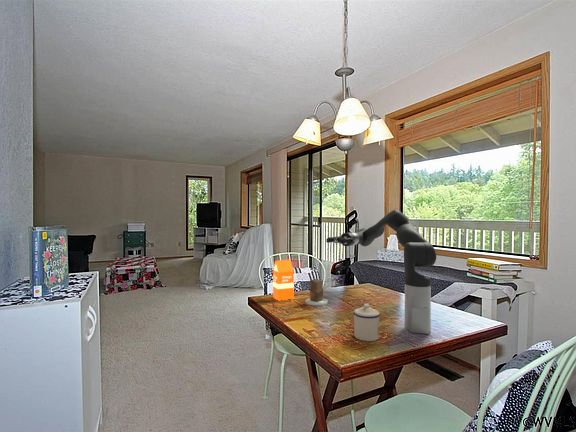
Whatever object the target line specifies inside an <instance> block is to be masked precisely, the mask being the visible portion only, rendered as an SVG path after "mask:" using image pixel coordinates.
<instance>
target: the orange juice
mask: <svg viewBox="0 0 576 432" xmlns="http://www.w3.org/2000/svg"><path fill="white" fill-rule="evenodd" d="M294 272H295V271H294V268H293V263H292V260H291V259H281V260H280V259H279V260H275V261H274V265H273V269H272V294H273V295H272V298H273V299H275V300H276V301H277V300H278V301H277V302H281V300H282V301H289V300H288V299H291V300H295V299H294V298H295V297H294V295H295V292H294V291H295V290H294V289H295V281H294V280H295V279H294V278H295V276H294V275H295V273H294Z"/></svg>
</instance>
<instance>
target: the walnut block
mask: <svg viewBox="0 0 576 432" xmlns="http://www.w3.org/2000/svg"><path fill="white" fill-rule="evenodd" d="M323 282H324V281H323V279H319V278H318V279H317V278H314V279H310V280H309V298H310V301H315V302H319V301H322V300H323V298H324V296H323V295H324V286H323V285H324V283H323Z"/></svg>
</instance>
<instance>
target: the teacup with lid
mask: <svg viewBox="0 0 576 432" xmlns="http://www.w3.org/2000/svg"><path fill="white" fill-rule="evenodd" d="M380 316H381V314H380V311H378V310H377V309H375V308H372V307H371V306H370V304H368V303H364V304H363V306H361V307H358V308H355V309H354V311H353V317H354V320H353V321H354V322H353V323H354V326H353V327H354V328H353V329H354V331H353V332H354V333H353V334H354V335H353V336H354V337H355V338H356V339H357V340H359V341H364V342H375V341H377V340H379V338H380Z"/></svg>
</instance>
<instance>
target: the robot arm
mask: <svg viewBox="0 0 576 432" xmlns="http://www.w3.org/2000/svg"><path fill="white" fill-rule="evenodd" d="M386 226H387V227H389V228H390V229H392V230H393V231H395V232H396V233H395V234H396V239H397V241H398V243H399V244H400V245H401V246H402V247H403V264H404V265H403V267H404V329H405V330H407V331H409V332H410V333H412V334H413V333H414V334H425V335H429V334H430V332H432V326H431V325H432V324H431V322H432V321H431V316H432V311H431V310H432V305H431V304H432V303H431V301H432V297H431V296H432V292H431V290H432V289H431V287H432V282H431V281H432V279H431V278H430V277H429V276H427V275H423V274H422V273H419V272H418V271H416V270H415V269H416V268H428V267H429V268H430V267H432V266H433V265H435V264H436V261H437V253H436V250H435V247H434V246H433V244H432V243H431V242H429V241H428V240H427V239H426V238H425V237H423V235H421V233H420V232H419V231H418V229H417V228H416V227H415V226H414V225H413V224H412V222H411V220H410V218H409V217H408V216H406V215H405V214H404V213H403V212H402V211H400V210H398V209H393V210H391V211H390V212H388V213H387V214H385V216H384V217H382V218H381V219H380V220H379V221H377V223H375V224H374V225H372V226H370V227H368V228H360V229H359V230H357V231H355V232H353V231H351V232H349V231H348V232H343V233H342V234H341V235H339V236H332V237H327V238H325V239H326V240H325V242H326V243H327V244H329V243H333V244H341V245H342V246H343V247H351V246H355V245H360V246H362V247H368V246H370V245H371V244H372V243H373V241H375V239H378V238H379V237H381V236H382V235H383V234H384V232H385V228H386Z"/></svg>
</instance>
